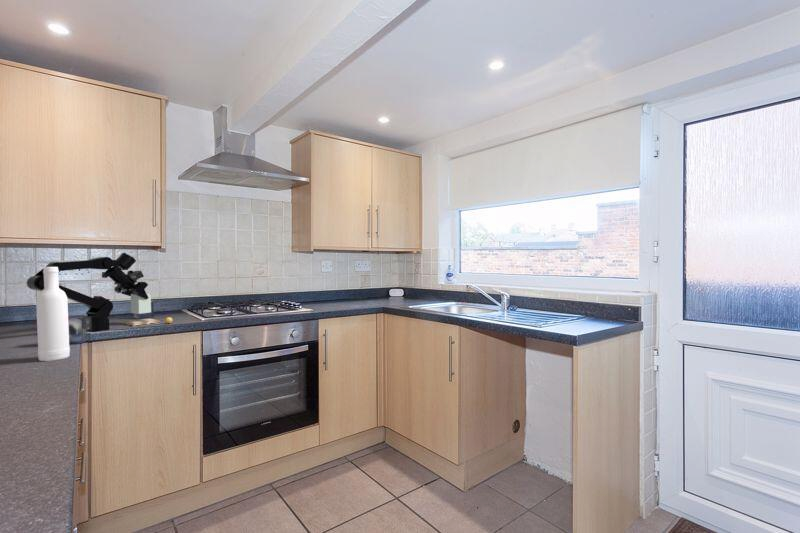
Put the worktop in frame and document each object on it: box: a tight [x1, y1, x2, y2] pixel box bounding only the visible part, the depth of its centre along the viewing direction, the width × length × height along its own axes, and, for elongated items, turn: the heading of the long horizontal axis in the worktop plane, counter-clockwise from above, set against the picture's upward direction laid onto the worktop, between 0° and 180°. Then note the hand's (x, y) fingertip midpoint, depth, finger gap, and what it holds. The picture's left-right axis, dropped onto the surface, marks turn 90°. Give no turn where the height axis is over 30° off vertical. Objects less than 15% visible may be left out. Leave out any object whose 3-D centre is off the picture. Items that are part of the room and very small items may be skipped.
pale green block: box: [130, 292, 152, 315], centre depth 202 cm, size 6×6×10 cm
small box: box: [68, 314, 88, 346], centre depth 156 cm, size 11×6×10 cm, turn 114°
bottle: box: [35, 266, 71, 362], centre depth 133 cm, size 8×8×30 cm
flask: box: [133, 300, 155, 319], centre depth 221 cm, size 9×3×11 cm, turn 109°
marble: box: [164, 316, 174, 324], centre depth 200 cm, size 3×3×3 cm
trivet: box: [122, 318, 161, 327], centre depth 202 cm, size 12×12×1 cm
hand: (143, 298), depth 203 cm, fingers closed on pale green block, 6 cm apart
